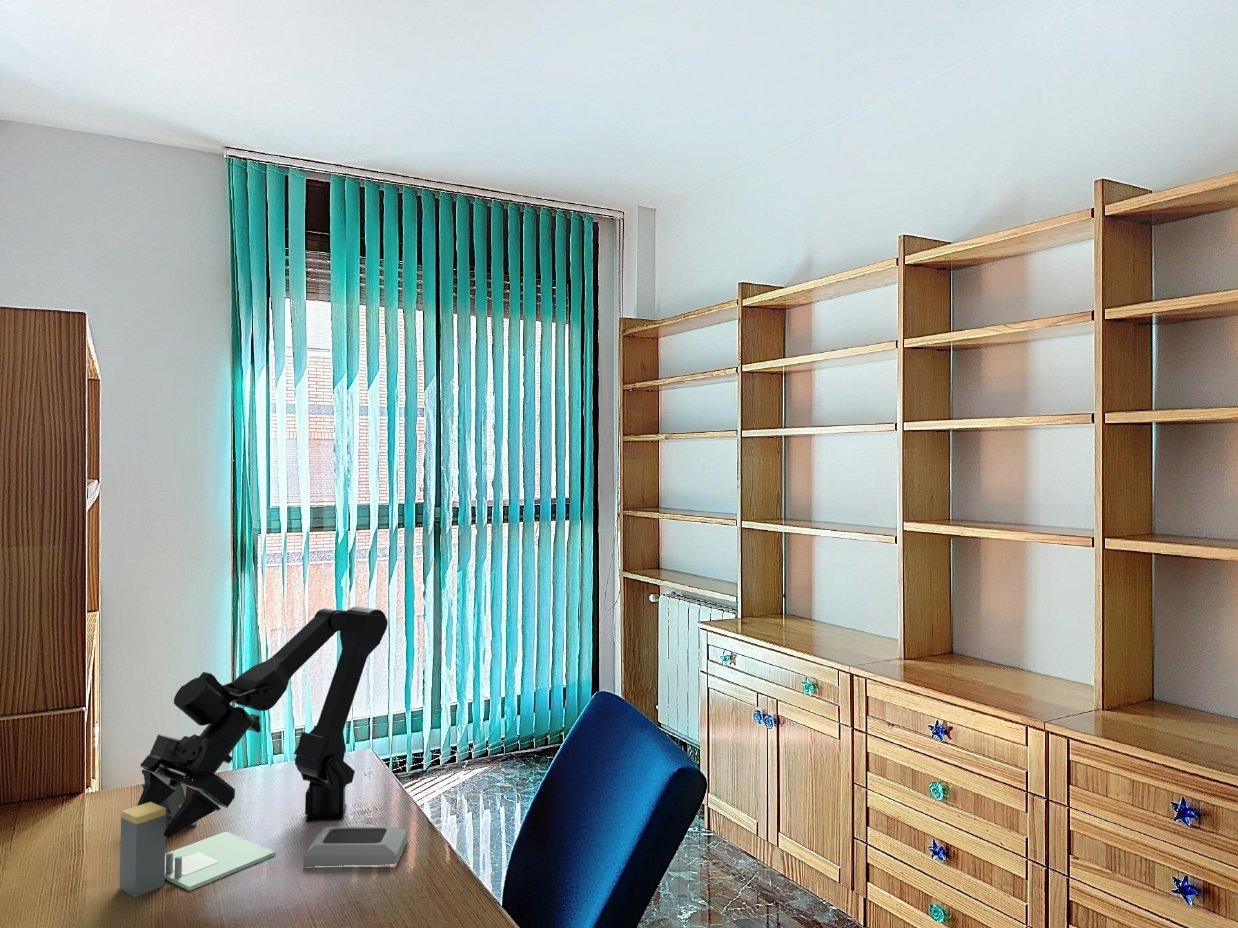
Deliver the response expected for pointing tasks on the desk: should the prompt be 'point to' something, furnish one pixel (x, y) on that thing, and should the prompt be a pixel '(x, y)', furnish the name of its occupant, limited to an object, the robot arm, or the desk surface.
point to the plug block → (142, 849)
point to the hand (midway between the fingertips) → (149, 829)
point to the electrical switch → (174, 802)
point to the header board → (212, 860)
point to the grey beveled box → (356, 846)
